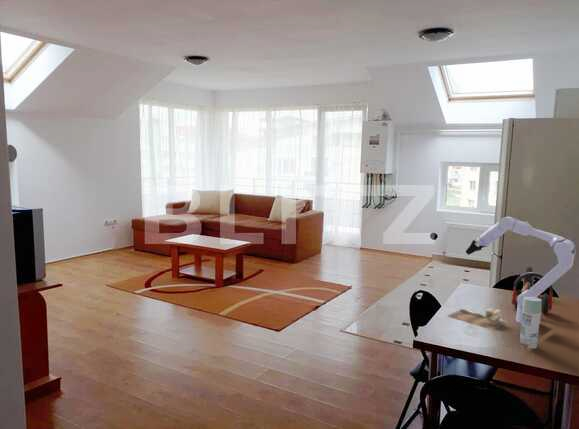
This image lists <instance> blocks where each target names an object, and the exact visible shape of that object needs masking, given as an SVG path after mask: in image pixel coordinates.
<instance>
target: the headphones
mask: <svg viewBox="0 0 579 429" xmlns="http://www.w3.org/2000/svg"><path fill="white" fill-rule="evenodd" d="M529 276H534V278H539V279H542V278H543V277H544V276H545V275H544V274H542V273H540V272H536V271H533V272H527V273H526V272H524V273H522V274H521V275H519V276H518V277H516V279H515V281H514V283H513V292H512V295H511V304H512V305H513V306H514V309H515V310H516V311H517V305H518V302H517V297H518V295H520V294H522V292H521V290H522V289H521V290H520V289H517V286H518V284H519V283H520V281H522V280H524V278H525V277H529ZM548 288H549V294H548V293H544V294H543V295H542V298H541V300H542V304H541V314H543V315H547V314H548V313H549V311H552V309H553V292H554V289H553V288H554V287H553V284H552V285H550V286H549V287H548Z"/></svg>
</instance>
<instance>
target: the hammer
mask: <svg viewBox="0 0 579 429" xmlns="http://www.w3.org/2000/svg"><path fill="white" fill-rule="evenodd" d="M527 272H534V271H533V267H532V266H527V268H526V269H525V273H527ZM534 282H535V276H529V277H525V278H523V285H522V289H521V292H522V293H523V292H524V291H525V290H529V289H530V288H531V287H533V286H534V285H535V283H534Z"/></svg>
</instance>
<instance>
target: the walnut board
mask: <svg viewBox="0 0 579 429" xmlns="http://www.w3.org/2000/svg"><path fill="white" fill-rule="evenodd" d="M446 317H448V318H451V319H455V320H459V321H462V322H465V323H467V324H471V325H475V326H478V327H482V328H484V329H488V330H491V331H495V330H496V329H498V328H500V327H502V326H503V325H505V324H507V323H509V321H508V320H504V319H501V318H500V320H499V323H498V324H496V325H495V326H492V325H488V324H485V314H482V313H479V312H476V311H472V310H469V309H465V308H459V310H456V311H454V312H452V313H450V314H448V315H446Z"/></svg>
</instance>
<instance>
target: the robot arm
mask: <svg viewBox="0 0 579 429" xmlns="http://www.w3.org/2000/svg"><path fill="white" fill-rule="evenodd" d="M507 231H511V232H513V233H515V234H518V235H521V236H525V237H527V236H529V235H530V236H532V237H535V238H538V239H541V240H543V241H544V242H547V243H548V244H549V246H550V248H553V252H554V254H555V256H556V257H557V262H558V263H557V264H556V265H555V266H554V267H553V268H552V269H550V270H549V271H548V272H547V273H546V274H545V275H544V277H543V278H542V279H541V278H539V280H538V281H537V282H536V283H534V286H533V287H531V288H530V289H529V290H525V291H524V292H523V293H522V294H520V295H518V297H517V302H518V305H517V310H516V316H515V321H516V322H517V323H519V324H521V321H522V310H523V299H524V297H526V296H531V297H537V298H539V296H540V295H541V294H542V293H544V292H545V291H546V290H547V289H548V288H549V286H550V285H552V286H553V284H554V283H556V281H558V280H559V279H560V278H561V277H563V275H565V274H566V273H567V272H568V271H569V270H570V269H572V267H573V265H574V259H575V255H576V253H577V250H576V245H575V243H574V242H573V241H572V240H571V239H567V238H565V237H563V236H560V235H557V234H555V233H552V232H547V231H545V230H541V229H537V228H534V227H533V226H532V225H531V223H529V221H525V220H524V221H521V220H518V219H517V218H516V217H514V218H513V217H512V216H505V217H504V216H503V217H501V218H500V219H499V220H498V222H496V223H495V224H493V225H492V226H490V227H489V229H487V230H486V231H484V232H483V233H482V234H480V233H478V234H477V235H476V236H477V240H475V239H473V240H472V242H471V243H470V245H469V246H468V248H466V250H465V253H466V254H467V255H471V254H473V253H475V252H479V251H482V250H483V249H482V248H486V247H488V246H490V244H492V243H493V242H494V241H496V240H497V239H499V238H500V237H501V236H503V235H504V234H505V233H506V232H507ZM541 315H542V312H541V313H540V320H541V317H542V316H541ZM540 324H541V321H540V322H539V325H540Z"/></svg>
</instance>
